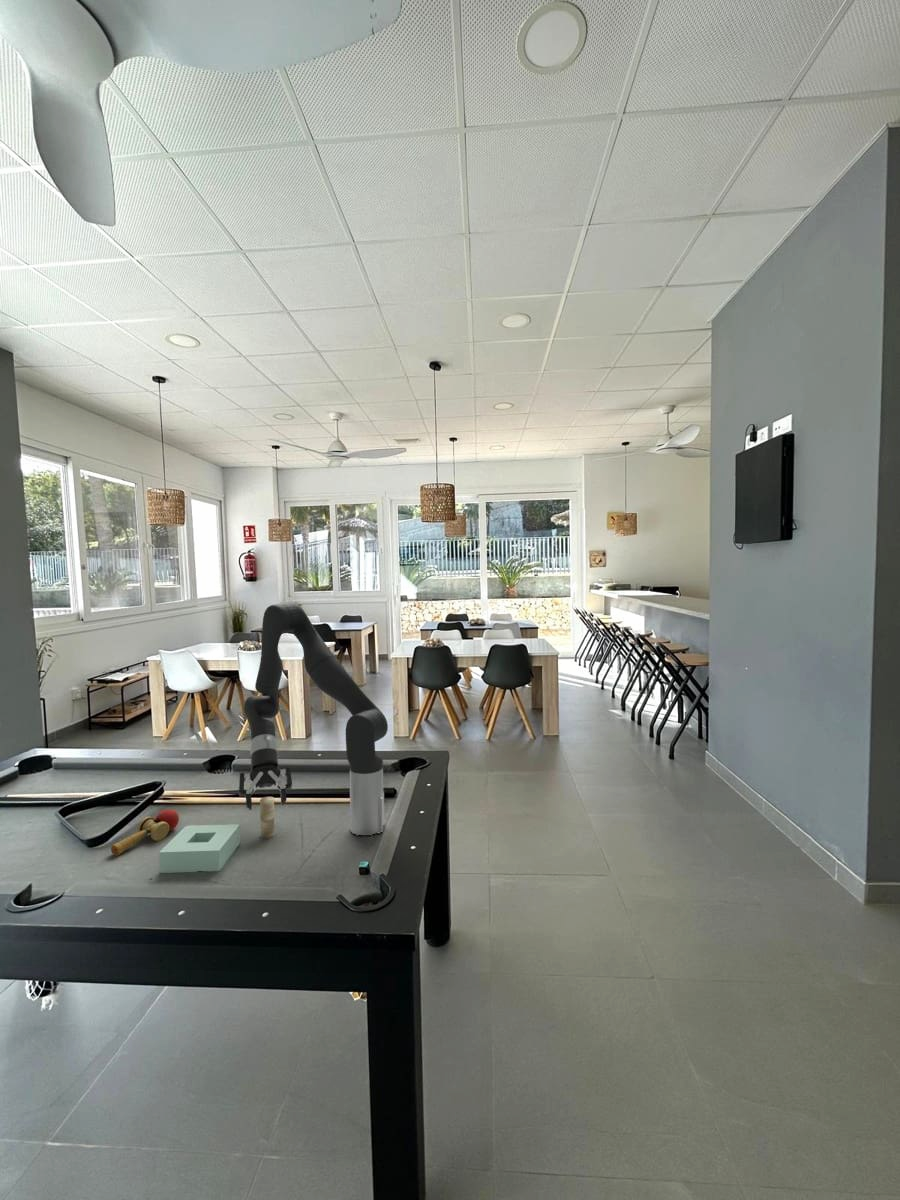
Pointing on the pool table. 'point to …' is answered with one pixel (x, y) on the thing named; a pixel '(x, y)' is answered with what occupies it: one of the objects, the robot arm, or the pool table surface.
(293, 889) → the pool table surface
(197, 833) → the socket block
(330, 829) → the pool table surface
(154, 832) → the kendama
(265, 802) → the pin
